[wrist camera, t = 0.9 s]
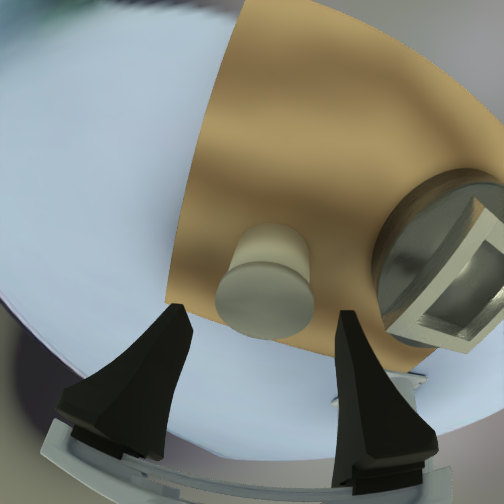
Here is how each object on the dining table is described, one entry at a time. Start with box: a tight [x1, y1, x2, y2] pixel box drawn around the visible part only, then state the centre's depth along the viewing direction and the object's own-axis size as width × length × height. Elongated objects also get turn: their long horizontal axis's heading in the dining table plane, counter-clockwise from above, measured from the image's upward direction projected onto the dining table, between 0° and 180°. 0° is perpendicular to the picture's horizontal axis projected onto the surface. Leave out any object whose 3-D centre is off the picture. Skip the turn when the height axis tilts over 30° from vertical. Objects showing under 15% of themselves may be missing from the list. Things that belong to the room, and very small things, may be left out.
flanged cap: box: [215, 223, 314, 340], centre depth 15 cm, size 5×5×4 cm
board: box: [165, 0, 504, 373], centre depth 16 cm, size 22×24×1 cm
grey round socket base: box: [371, 168, 504, 354], centre depth 13 cm, size 12×12×4 cm
